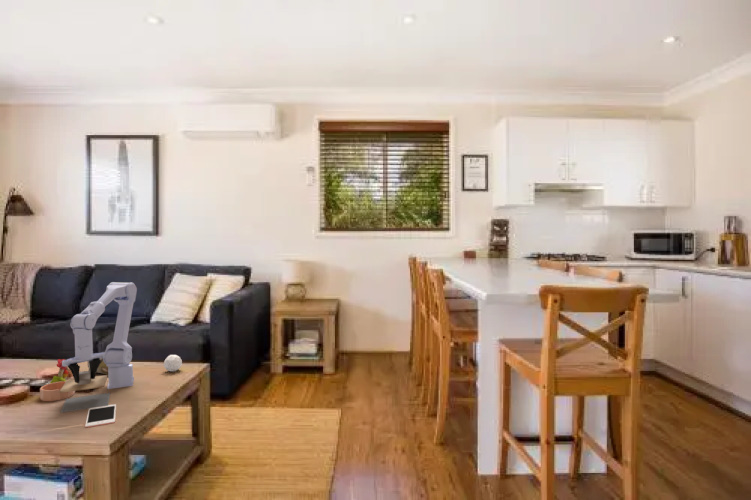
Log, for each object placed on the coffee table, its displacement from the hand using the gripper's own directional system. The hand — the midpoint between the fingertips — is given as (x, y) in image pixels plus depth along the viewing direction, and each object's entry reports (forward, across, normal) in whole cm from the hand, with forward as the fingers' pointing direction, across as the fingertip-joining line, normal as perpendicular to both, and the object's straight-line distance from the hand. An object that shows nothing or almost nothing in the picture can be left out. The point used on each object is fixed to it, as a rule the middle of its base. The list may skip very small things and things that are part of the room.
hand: (84, 380), depth 179 cm
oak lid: (+1, 0, 0) cm, 1 cm away
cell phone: (+10, +2, +18) cm, 20 cm away
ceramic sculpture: (+9, -22, -33) cm, 40 cm away
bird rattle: (+9, -4, -32) cm, 34 cm away
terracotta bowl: (+9, +4, -16) cm, 19 cm away
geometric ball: (+9, -42, -10) cm, 44 cm away
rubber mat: (+9, 0, +1) cm, 9 cm away
